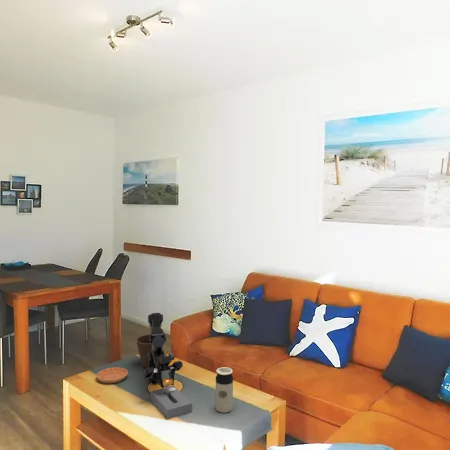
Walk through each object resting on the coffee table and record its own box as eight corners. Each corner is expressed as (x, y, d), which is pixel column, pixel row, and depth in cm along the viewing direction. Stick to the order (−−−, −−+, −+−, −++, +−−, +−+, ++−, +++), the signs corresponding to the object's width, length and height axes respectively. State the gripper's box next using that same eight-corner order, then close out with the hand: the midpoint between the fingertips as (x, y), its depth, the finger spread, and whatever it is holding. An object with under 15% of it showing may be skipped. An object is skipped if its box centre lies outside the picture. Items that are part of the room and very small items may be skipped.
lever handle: (161, 398, 189) (161, 379, 188) (170, 396, 191) (170, 376, 191) (163, 401, 186) (163, 381, 185) (173, 399, 188) (173, 379, 188)
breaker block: (150, 399, 191) (150, 391, 190) (173, 393, 197) (173, 385, 197) (167, 419, 174) (167, 409, 173) (191, 411, 180) (191, 402, 180)
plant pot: (151, 373, 219) (151, 345, 218) (130, 367, 226) (130, 340, 225) (168, 364, 232) (168, 337, 231) (148, 358, 239) (148, 332, 238)
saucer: (90, 382, 208) (90, 376, 208) (109, 370, 223) (109, 365, 223) (115, 387, 203) (115, 381, 202) (133, 375, 217) (133, 369, 217)
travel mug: (220, 402, 188) (220, 365, 187) (235, 406, 185) (235, 368, 184) (212, 410, 181) (212, 372, 180) (228, 414, 178) (228, 375, 177)
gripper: (145, 351, 186) (154, 384, 177) (181, 344, 196) (191, 374, 187) (139, 362, 193) (147, 393, 184) (174, 355, 203) (184, 384, 194)
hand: (168, 386), depth 187 cm, fingers closed on lever handle, 5 cm apart
